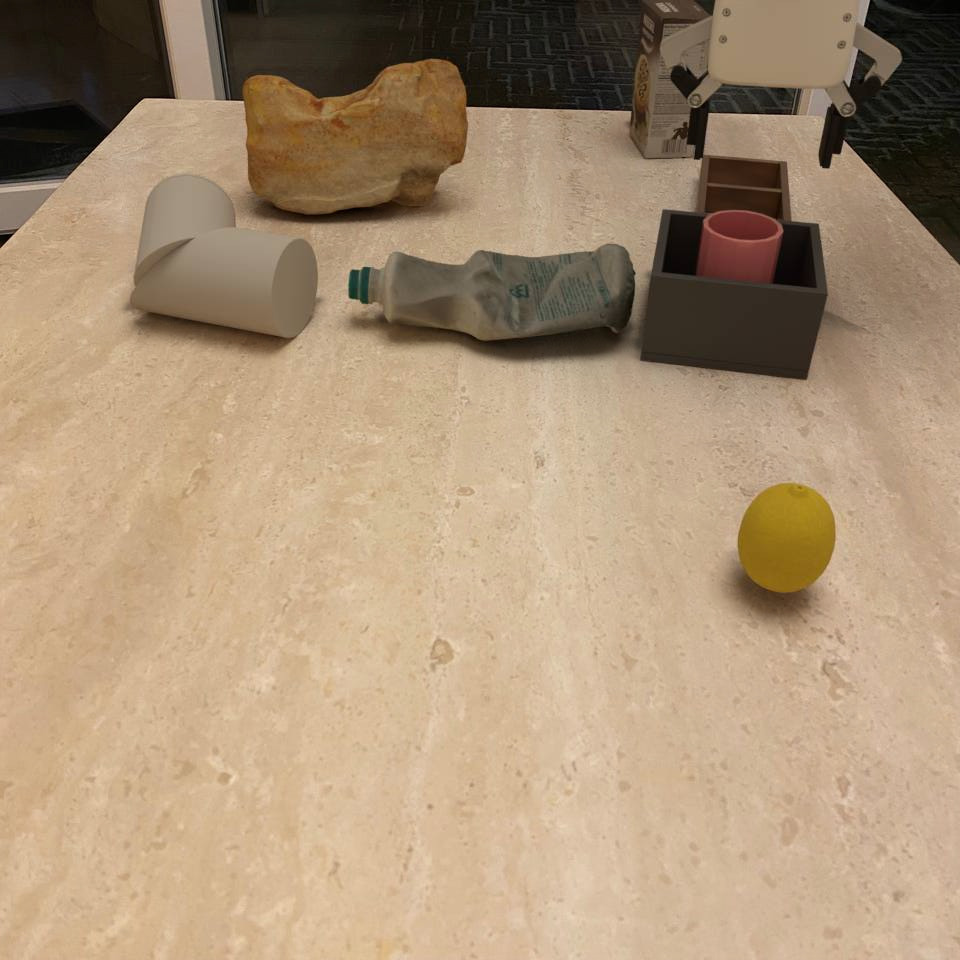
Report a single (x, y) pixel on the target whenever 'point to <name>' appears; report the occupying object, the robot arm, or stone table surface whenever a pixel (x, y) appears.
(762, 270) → the pink cup
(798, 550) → the lemon
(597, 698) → the stone table surface
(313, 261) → the l-shaped cylinder
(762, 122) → the stone table surface
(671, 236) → the dark gray open box
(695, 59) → the coffee box
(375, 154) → the tan saddle-shaped rock
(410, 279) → the detergent
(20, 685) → the stone table surface
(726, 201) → the brown compartment tray
